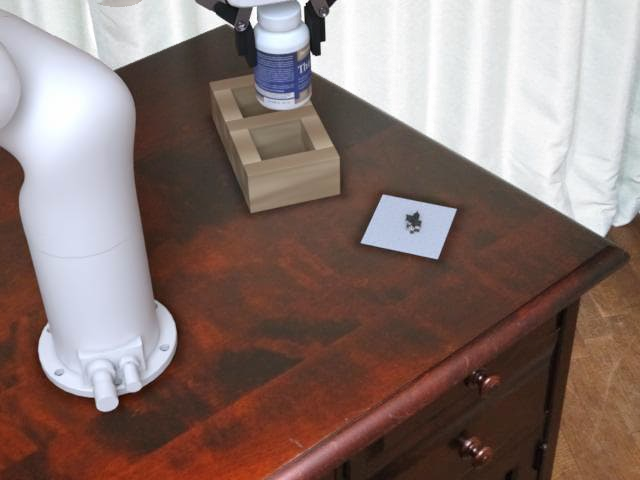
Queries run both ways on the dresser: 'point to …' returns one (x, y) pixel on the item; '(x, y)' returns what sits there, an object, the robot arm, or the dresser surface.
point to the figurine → (409, 226)
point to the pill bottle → (282, 56)
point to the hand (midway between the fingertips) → (281, 52)
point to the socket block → (273, 147)
